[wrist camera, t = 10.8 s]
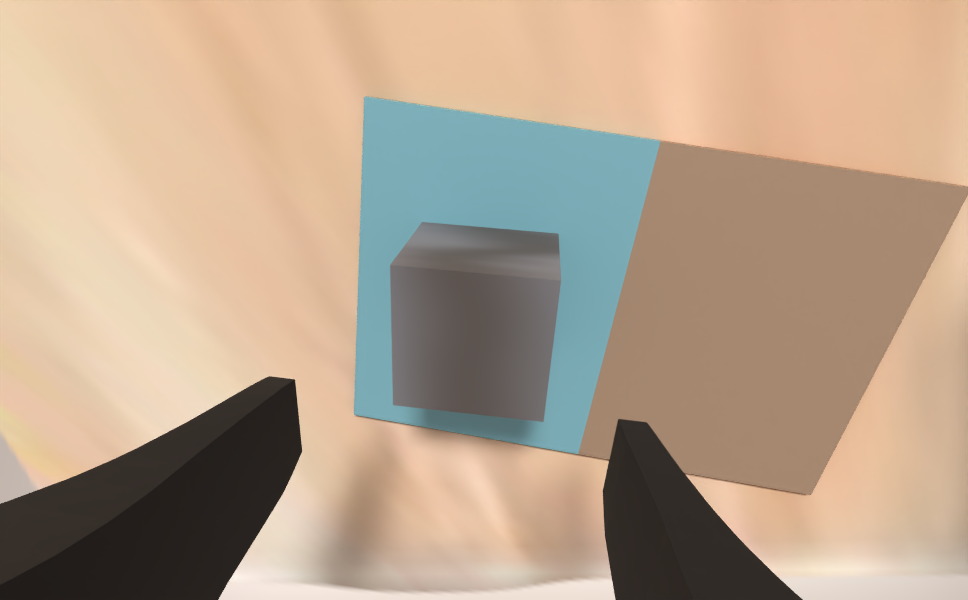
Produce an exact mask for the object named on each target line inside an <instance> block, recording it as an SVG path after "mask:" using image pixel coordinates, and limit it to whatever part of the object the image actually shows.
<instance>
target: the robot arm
mask: <svg viewBox="0 0 968 600" xmlns="http://www.w3.org/2000/svg"><path fill="white" fill-rule="evenodd" d="M301 453H302V445H301V435H300V425H299V415H298V405H297V395H296V385H295V379H286V378H278V377H270V376H269V377H267V378H265V379H263V380H261V381H259V382H257V383H255V384H253V385H251V386H250V387H248V388H246V389H244V390H243V391H241V392H239V393H237V394H236V395H234V396H232V397H230V398H229V399H227V400H225V401H223V402H222V403H220V404H218V405H216V406H215V407H213V408H211V409H209V410H208V411H206V412H204V413H202V414H201V415H199V416H197V417H195V418H194V419H192V420H190V421H188V422H186V423H185V424H183V425H181V426H179V427H177V428H175V429H173V430H171V431H169V432H167V433H166V434H164V435H162V436H160V437H158V438H156V439H154V440H152V441H150V442H148V443H146V444H144V445H142V446H141V447H139V448H137V449H135V450H132V451H130V452H128V453H126V454H124V455H122V456H120V457H118V458H116V459H113V460H111V461H109V462H107V463H104V464H102V465H100V466H97V467H95V468H93V469H91V470H88V471H86V472H84V473H81V474H79V475H76V476H74V477H72V478H69V479H67V480H64V481H61V482H59V483H56V484H53V485H50V486H48V487H45V488H42V489H40V490H37V491H34V492H32V493H29V494H26V495H24V496H21V497H18V498H16V499H13V500H10V501H8V502H4V503H1V504H0V600H218V599H219V597H220V595H221V594H222V592H223V590H224V588H225V587H226V585H227V583H228V581H229V580H230V578H231V577H232V575H233V573H234V572H235V570H236V569H237V567H238V565H239V564H240V562H241V561H242V559H243V557H244V556H245V554H246V553H247V551H248V549H249V548H250V546H251V545H252V543H253V541H254V540H255V538H256V536H257V535H258V533H259V532H260V530H261V528H262V527H263V525H264V524H265V522H266V520H267V519H268V517H269V515H270V514H271V512H272V511H273V509H274V507H275V506H276V504H277V502H278V501H279V499H280V497H281V496H282V494H283V492H284V490H285V488H286V486H287V484H288V482H289V480H290V478H291V476H292V473H293V471H294V469H295V466H296V464H297V462H298V460H299V457H300V455H301ZM603 505H604V526H605V538H606V545H607V551H608V557H609V563H610V569H611V575H612V581H613V586H614V593H615V598H616V600H802V599H801V598H800V597H799V596H798V595H797V594H795V593H794V592H793V591H792V590H791V589H790V588H789V587H788V586H787V585H786V584H785V583H784V582H782V581H781V580H780V579H779V578H778V577H777V576H776V575H775V574H774V573H773V572H772V571H771V570H770V569H769V568H768V567H767V566H766V565H765V564H764V563H763V562H762V561H761V560H760V559H759V558H758V557H757V556H756V555H755V554H754V553H753V552H752V551H751V550H749V549H748V547H747V546H746V545H745V544H744V543H743V542H742V541H741V540H740V539H739V538H738V537H737V536H736V535H735V534H734V533H733V532H732V530H731V529H730V528H729V527H728V526H727V525H726V524H725V523H724V521H723V520H722V519H721V518H720V517H719V516H718V515H717V513H716V512H715V511H714V510H713V509H712V508H711V506H710V505H709V504H708V503H707V502H706V500H705V499H704V498H703V497H702V495H701V494H700V493H699V491H698V490H697V489H696V488H695V486H694V485H693V484H692V483H691V481H690V480H689V479H688V478H687V476H686V475H685V474H684V472H683V471H682V470H681V468H680V467H679V466H678V464H677V463H676V462H675V460H674V459H673V457H672V456H671V455H670V453H669V452H668V451H667V449H666V448H665V446H664V445H663V444H662V442H661V441H660V439H659V438H658V436H657V435H656V434H655V432H654V431H653V430H652V428H651V427H650V426H649V424H648V423H647V422H641V421H632V420H624V419H618V422H617V426H616V431H615V436H614V441H613V445H612V450H611V455H610V460H609V464H608V469H607V474H606V479H605V483H604V488H603Z"/></svg>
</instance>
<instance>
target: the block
mask: <svg viewBox="0 0 968 600" xmlns="http://www.w3.org/2000/svg"><path fill="white" fill-rule="evenodd" d="M560 286H561V268H560V251H559V234H558V233H546V232H535V231H523V230H511V229H499V228H487V227H476V226H464V225H452V224H440V223H428V222H422V223H421V224H420V226H419V227H418V228H417V230H416V231H415V232H414V234H413V235H412V236H411V238H410V239H409V240H408V242H407V243H406V244H405V246H404V247H403V248H402V250H401V251H400V252H399V254H398V255H397V256H396V258H395V259H394V260H393V262H392V263H391V264H390V287H391V335H392V383H393V405H395V406H404V407H413V408H422V409H431V410H440V411H449V412H458V413H467V414H476V415H485V416H494V417H503V418H512V419H521V420H530V421H539V422H544V415H545V407H546V399H547V391H548V383H549V375H550V366H551V358H552V350H553V342H554V334H555V326H556V318H557V310H558V302H559V294H560Z"/></svg>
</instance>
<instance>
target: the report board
mask: <svg viewBox="0 0 968 600" xmlns="http://www.w3.org/2000/svg"><path fill="white" fill-rule="evenodd" d="M967 195H968V187H967V186H961V185H954V184H947V183H941V182H934V181H927V180H921V179H914V178H907V177H901V176H894V175H887V174H881V173H874V172H867V171H861V170H854V169H847V168H840V167H834V166H827V165H820V164H814V163H807V162H800V161H794V160H787V159H780V158H774V157H767V156H760V155H754V154H747V153H740V152H734V151H727V150H720V149H714V148H707V147H700V146H694V145H687V144H680V143H674V142H667V141H660V140H654V139H647V138H640V137H634V136H627V135H620V134H614V133H607V132H600V131H593V130H587V129H580V128H573V127H567V126H560V125H553V124H547V123H540V122H533V121H527V120H520V119H513V118H507V117H500V116H493V115H487V114H480V113H473V112H467V111H460V110H453V109H447V108H440V107H433V106H427V105H420V104H413V103H407V102H400V101H393V100H387V99H380V98H373V97H367V96H366V97H364V124H363V155H362V185H361V216H360V246H359V277H358V308H357V338H356V369H355V400H354V415H358V416H364V417H370V418H375V419H381V420H387V421H392V422H398V423H404V424H410V425H415V426H421V427H427V428H432V429H438V430H444V431H449V432H455V433H461V434H466V435H472V436H478V437H483V438H489V439H495V440H500V441H506V442H512V443H517V444H523V445H529V446H534V447H540V448H546V449H551V450H557V451H563V452H568V453H574V454H580V455H585V456H591V457H597V458H602V459H608V460H610V455H611V450H612V445H613V441H614V436H615V431H616V426H617V422H618V419H624V420H632V421H641V422H647V423H648V424H649V426H650V427H651V428H652V430H653V431H654V432H655V434H656V435H657V436H658V438H659V439H660V441H661V442H662V444H663V445H664V446H665V448H666V449H667V451H668V452H669V453H670V455H671V456H672V457H673V459H674V460H675V462H676V463H677V464H678V466H679V467H680V468H681V470H682V471H683V472H684V473H688V474H693V475H699V476H705V477H710V478H716V479H722V480H727V481H733V482H739V483H744V484H750V485H756V486H761V487H767V488H773V489H778V490H784V491H790V492H795V493H801V494H807V495H811V494H812V492H813V490H814V488H815V486H816V484H817V482H818V480H819V479H820V477H821V475H822V473H823V471H824V469H825V467H826V465H827V463H828V461H829V459H830V457H831V456H832V454H833V452H834V450H835V448H836V446H837V444H838V442H839V440H840V438H841V436H842V435H843V433H844V431H845V429H846V427H847V425H848V423H849V421H850V419H851V417H852V415H853V413H854V412H855V410H856V408H857V406H858V404H859V402H860V400H861V398H862V396H863V394H864V392H865V391H866V389H867V387H868V385H869V383H870V381H871V379H872V377H873V375H874V373H875V371H876V369H877V368H878V366H879V364H880V362H881V360H882V358H883V356H884V354H885V352H886V350H887V348H888V346H889V345H890V343H891V341H892V339H893V337H894V335H895V333H896V331H897V329H898V327H899V325H900V324H901V322H902V320H903V318H904V316H905V314H906V312H907V310H908V308H909V306H910V304H911V302H912V301H913V299H914V297H915V295H916V293H917V291H918V289H919V287H920V285H921V283H922V281H923V280H924V278H925V276H926V274H927V272H928V270H929V268H930V266H931V264H932V262H933V260H934V258H935V257H936V255H937V253H938V251H939V249H940V247H941V245H942V243H943V241H944V239H945V237H946V235H947V234H948V232H949V230H950V228H951V226H952V224H953V222H954V220H955V218H956V216H957V214H958V213H959V211H960V209H961V207H962V205H963V203H964V201H965V199H966V197H967ZM422 222H428V223H440V224H452V225H464V226H476V227H487V228H499V229H511V230H523V231H535V232H546V233H558V234H559V251H560V268H561V286H560V294H559V302H558V310H557V318H556V326H555V334H554V342H553V350H552V358H551V366H550V375H549V383H548V391H547V399H546V407H545V415H544V422H539V421H530V420H521V419H512V418H503V417H494V416H485V415H476V414H467V413H458V412H449V411H440V410H431V409H422V408H413V407H404V406H395V405H393V383H392V335H391V287H390V264H391V263H392V262H393V260H394V259H395V258H396V256H397V255H398V254H399V252H400V251H401V250H402V248H403V247H404V246H405V244H406V243H407V242H408V240H409V239H410V238H411V236H412V235H413V234H414V232H415V231H416V230H417V228H418V227H419V226H420V224H421V223H422Z"/></svg>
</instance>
